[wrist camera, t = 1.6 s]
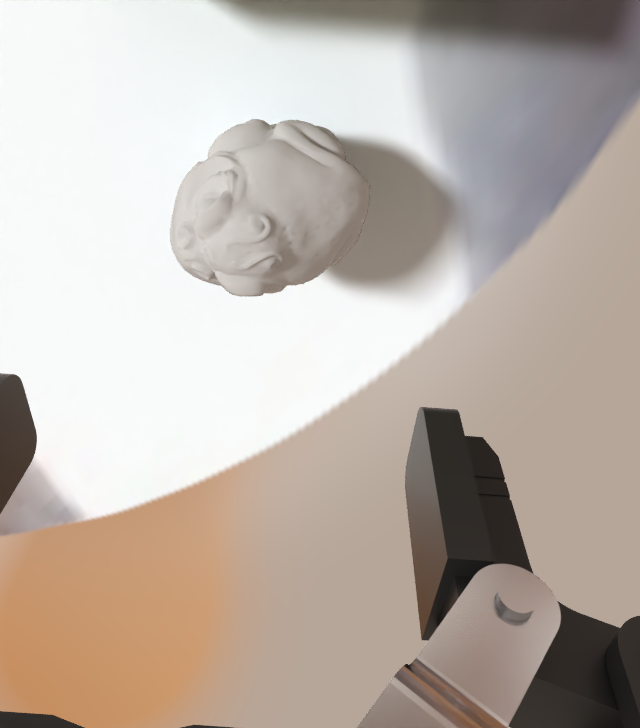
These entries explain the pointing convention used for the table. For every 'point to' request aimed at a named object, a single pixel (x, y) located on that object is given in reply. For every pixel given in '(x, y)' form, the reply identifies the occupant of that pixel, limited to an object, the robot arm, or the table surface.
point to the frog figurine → (268, 208)
